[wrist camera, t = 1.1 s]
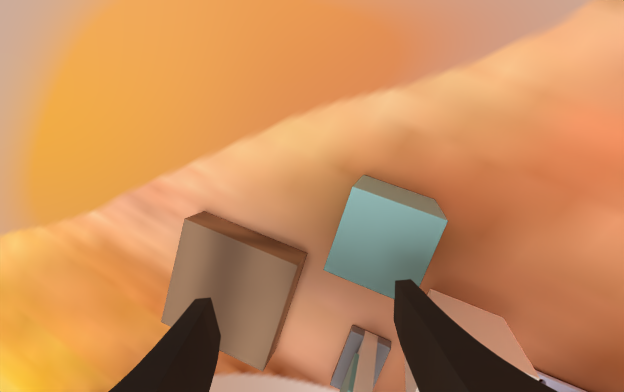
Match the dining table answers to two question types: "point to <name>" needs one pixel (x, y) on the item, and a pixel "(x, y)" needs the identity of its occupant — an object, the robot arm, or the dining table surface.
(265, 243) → the walnut base block
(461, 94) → the dining table surface
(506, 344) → the off-white block
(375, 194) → the teal block
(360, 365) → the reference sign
